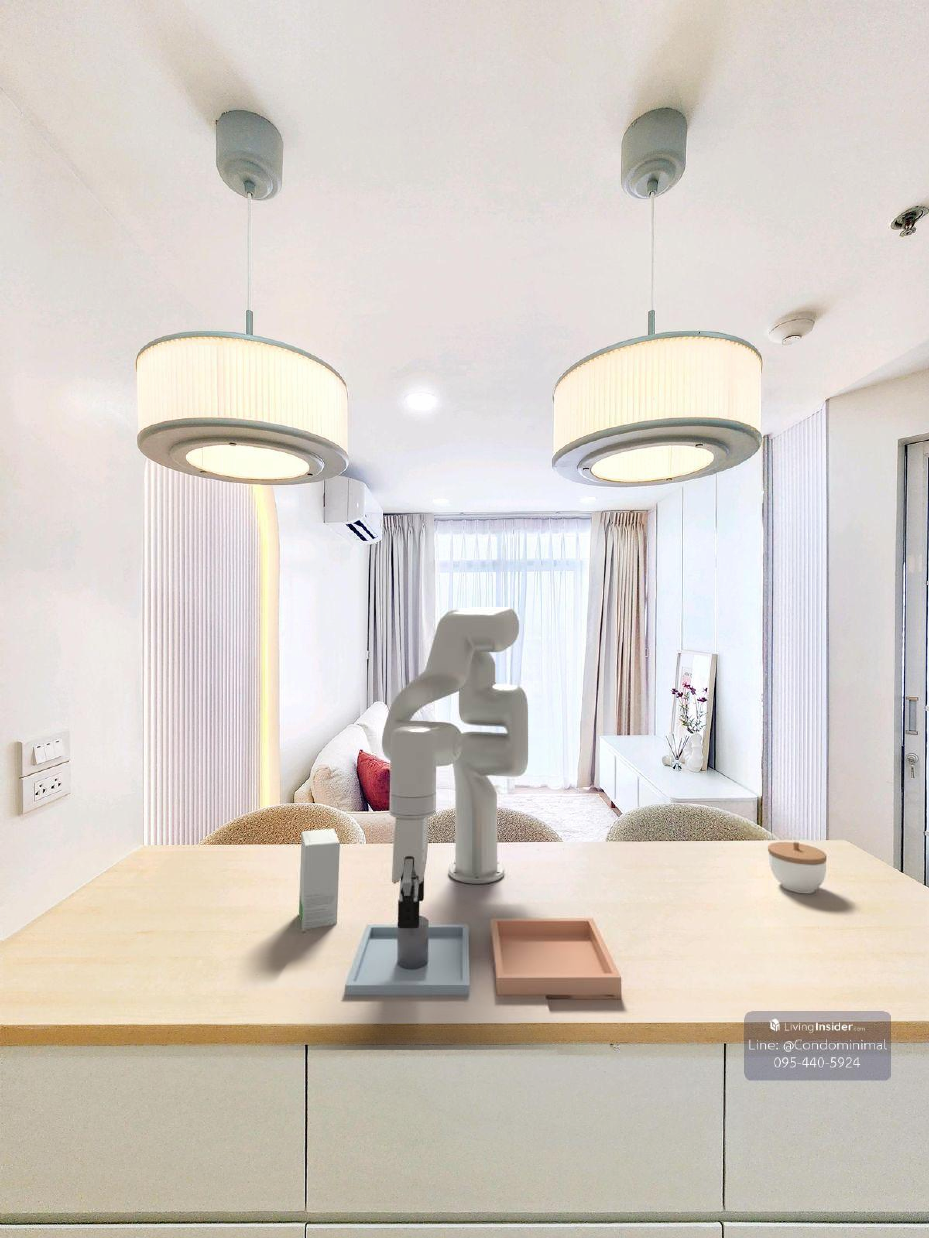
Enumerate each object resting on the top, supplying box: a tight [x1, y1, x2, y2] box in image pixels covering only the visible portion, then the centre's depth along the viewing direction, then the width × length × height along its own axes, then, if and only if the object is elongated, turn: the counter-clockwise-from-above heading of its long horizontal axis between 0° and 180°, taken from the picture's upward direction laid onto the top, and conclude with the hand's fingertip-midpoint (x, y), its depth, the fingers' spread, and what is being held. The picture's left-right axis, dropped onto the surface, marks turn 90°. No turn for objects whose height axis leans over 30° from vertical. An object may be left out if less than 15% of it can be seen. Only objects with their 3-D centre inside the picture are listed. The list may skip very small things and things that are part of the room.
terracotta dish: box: [490, 917, 623, 1000], centre depth 90 cm, size 18×18×3 cm
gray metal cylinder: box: [396, 915, 430, 970], centre depth 90 cm, size 5×5×6 cm
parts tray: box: [344, 923, 470, 997], centre depth 90 cm, size 18×18×2 cm
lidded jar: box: [767, 841, 827, 895], centre depth 119 cm, size 11×11×9 cm
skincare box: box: [298, 827, 341, 933], centre depth 106 cm, size 8×7×16 cm
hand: (411, 913), depth 90 cm, fingers open, 9 cm apart
